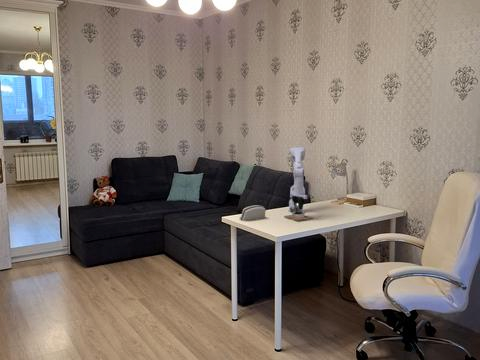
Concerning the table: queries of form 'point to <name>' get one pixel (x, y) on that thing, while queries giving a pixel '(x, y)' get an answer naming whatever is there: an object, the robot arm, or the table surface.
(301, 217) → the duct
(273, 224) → the table surface
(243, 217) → the grey napkin holder
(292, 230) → the table surface
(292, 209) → the elbow
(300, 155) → the robot arm
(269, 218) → the table surface
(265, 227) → the table surface
